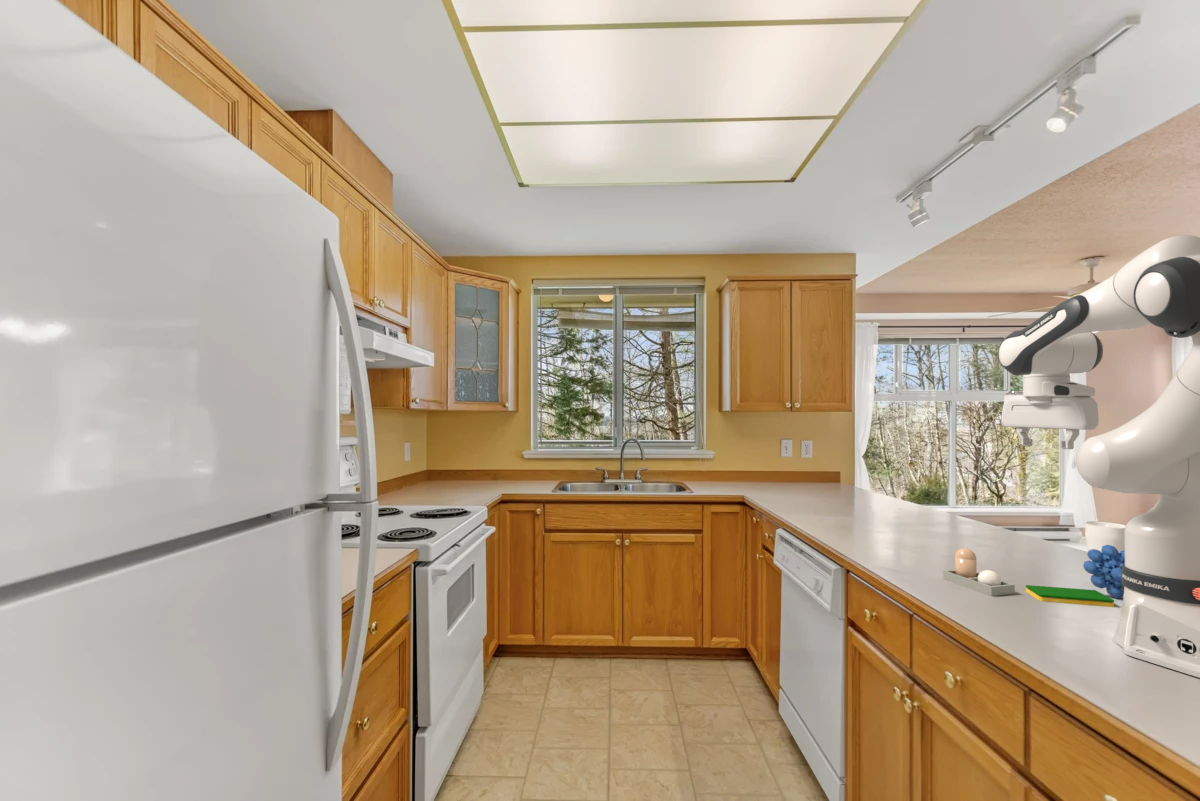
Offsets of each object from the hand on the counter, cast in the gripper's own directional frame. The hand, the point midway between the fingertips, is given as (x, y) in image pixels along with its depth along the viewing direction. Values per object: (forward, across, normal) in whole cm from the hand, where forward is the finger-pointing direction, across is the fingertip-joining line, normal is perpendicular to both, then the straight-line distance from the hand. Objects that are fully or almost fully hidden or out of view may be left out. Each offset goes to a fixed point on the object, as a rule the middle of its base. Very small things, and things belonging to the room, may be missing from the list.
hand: (1046, 447), depth 132 cm
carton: (+34, -6, -14) cm, 37 cm away
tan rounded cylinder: (+34, -9, -14) cm, 37 cm away
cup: (+34, -10, +34) cm, 49 cm away
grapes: (+34, +8, +10) cm, 37 cm away
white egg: (+34, -3, -14) cm, 37 cm away
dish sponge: (+35, +6, -2) cm, 35 cm away
